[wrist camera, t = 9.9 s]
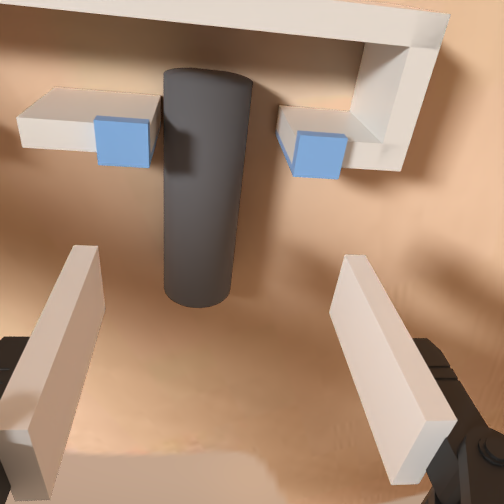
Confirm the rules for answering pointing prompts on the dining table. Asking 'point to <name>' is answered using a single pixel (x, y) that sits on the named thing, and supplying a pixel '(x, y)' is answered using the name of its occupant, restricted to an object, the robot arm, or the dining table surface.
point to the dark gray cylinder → (202, 180)
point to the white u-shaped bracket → (289, 117)
